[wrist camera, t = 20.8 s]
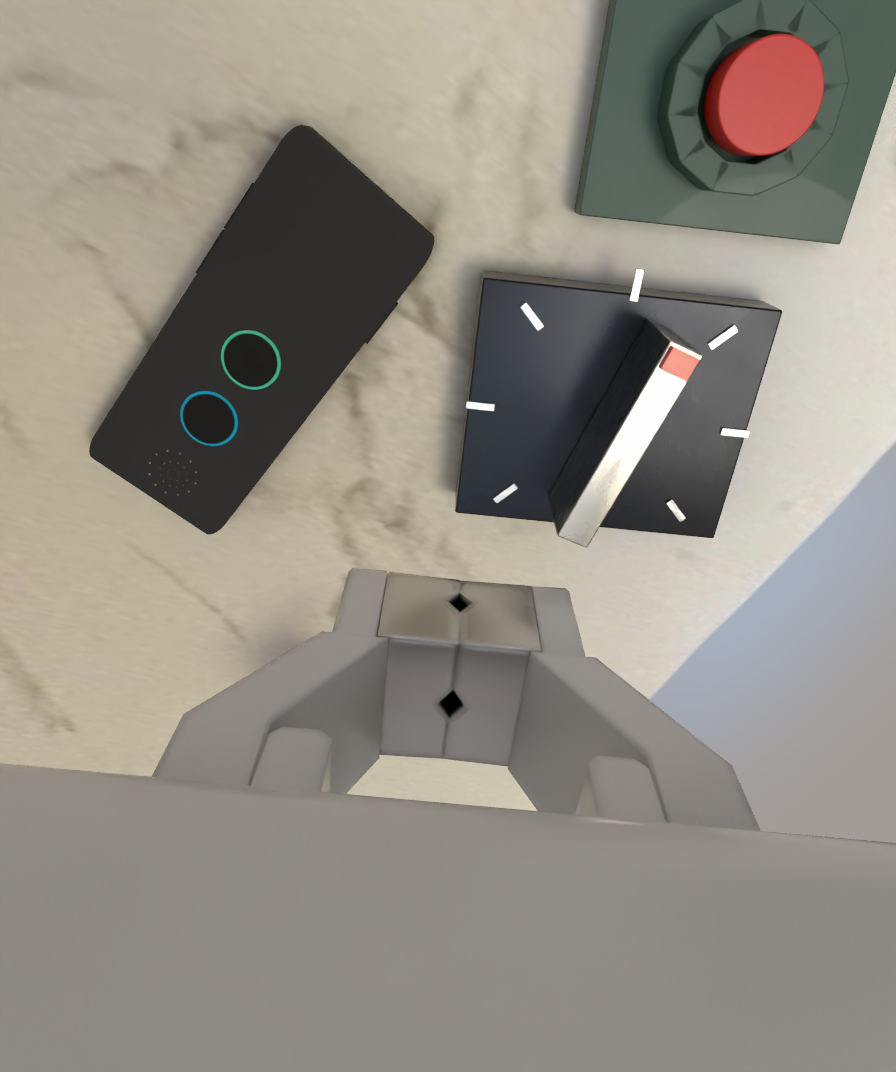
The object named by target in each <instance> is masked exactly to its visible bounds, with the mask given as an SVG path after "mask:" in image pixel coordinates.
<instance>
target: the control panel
mask: <svg viewBox="0 0 896 1072" xmlns="http://www.w3.org/2000/svg"><path fill="white" fill-rule="evenodd" d="M643 273H644V270H643V269H636V270H635V275H634V280H633V284H632V287H629V286H620V285H611V284H602V283H593V282H584V281H575V280H566V279H557V278H548V277H539V276H530V275H520V274H511V273H502V272H493V271H482V274H481V282H480V291H479V299H478V308H477V316H476V325H475V333H474V342H473V351H472V359H471V368H470V376H469V385H468V393H467V401H466V410H465V419H464V427H463V436H462V444H461V453H460V461H459V470H458V479H457V487H456V508H455V511H456V512H457V513H467V514H477V515H487V516H497V517H507V518H517V519H527V520H537V521H547V522H554V520H553V516H552V512H551V508H550V504H549V500H548V495H549V493H550V492H551V490H552V488H553V486H554V484H555V483H556V481H557V479H558V477H559V475H560V474H561V472H562V470H563V468H564V467H565V465H566V463H567V461H568V459H569V458H570V456H571V454H572V452H573V450H574V449H575V447H576V445H577V443H578V441H579V440H580V438H581V436H582V434H583V433H584V431H585V429H586V427H587V425H588V424H589V422H590V420H591V418H592V416H593V415H594V413H595V411H596V409H597V407H598V406H599V404H600V402H601V400H602V399H603V397H604V395H605V393H606V391H607V390H608V388H609V386H610V384H611V382H612V381H613V379H614V377H615V375H616V373H617V372H618V370H619V368H620V366H621V365H622V363H623V361H624V359H625V357H626V356H627V354H628V352H629V350H630V348H631V347H632V345H633V343H634V341H635V339H636V338H637V336H638V334H639V332H640V331H641V329H642V327H643V325H644V323H645V322H646V320H647V319H649V320H651V321H653V322H655V323H657V324H659V325H661V326H663V327H665V328H667V329H669V330H671V331H674V332H675V333H677V334H678V335H679V336H680V337H681V338H683V339H684V340H685V341H686V342H688V343H689V344H690V345H691V346H692V347H694V348H695V349H696V350H697V351H698V352H700V353H701V354H702V355H703V357H702V359H701V361H700V362H699V364H698V366H697V367H696V369H695V371H694V372H693V374H692V375H691V377H690V379H689V380H688V382H687V384H686V385H685V387H684V389H683V390H682V392H681V394H680V395H679V397H678V398H677V400H676V402H675V403H674V405H673V407H672V408H671V410H670V412H669V413H668V415H667V417H666V418H665V420H664V422H663V423H662V425H661V426H660V428H659V430H658V431H657V433H656V435H655V436H654V438H653V440H652V441H651V443H650V445H649V446H648V448H647V449H646V451H645V453H644V454H643V456H642V458H641V459H640V461H639V463H638V464H637V466H636V468H635V469H634V471H633V472H632V474H631V476H630V477H629V479H628V481H627V482H626V484H625V486H624V487H623V489H622V491H621V492H620V494H619V496H618V497H617V499H616V500H615V502H614V504H613V505H612V507H611V509H610V510H609V512H608V514H607V515H606V517H605V519H604V520H603V522H602V523H601V525H600V527H607V528H617V529H627V530H637V531H647V532H657V533H667V534H677V535H687V536H697V537H707V538H713V537H714V535H715V531H716V528H717V525H718V522H719V518H720V515H721V512H722V508H723V505H724V502H725V498H726V495H727V492H728V489H729V485H730V482H731V479H732V475H733V472H734V469H735V466H736V462H737V459H738V456H739V452H740V449H741V446H742V443H743V439H744V437H745V438H748V436H749V433H750V431H749V430H746V429H747V426H748V423H749V420H750V416H751V413H752V410H753V406H754V403H755V400H756V397H757V393H758V390H759V387H760V383H761V380H762V377H763V374H764V370H765V367H766V364H767V360H768V357H769V354H770V350H771V347H772V344H773V341H774V337H775V334H776V331H777V327H778V324H779V321H780V318H781V314H782V310H780V309H778V308H776V307H774V306H771V305H769V304H767V303H765V302H763V301H756V300H747V299H738V298H729V297H720V296H711V295H702V294H693V293H684V292H674V291H665V290H656V289H647V288H640V287H641V283H642V278H643Z"/></svg>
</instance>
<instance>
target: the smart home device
mask: <svg viewBox="0 0 896 1072" xmlns="http://www.w3.org/2000/svg"><path fill="white" fill-rule="evenodd" d="M224 228H225V230H222V232H221V233H220V235H219V237H218V238H217V240H216V241H215V243H214V244H213V246H212V248H211V249H210V251H209V252H208V254H207V256H206V257H205V259H204V260H203V262H202V263H201V265H200V267H199V268H198V270H197V271H196V273H197V274H196V276H195V277H194V279H193V281H192V282H191V284H190V285H189V287H188V289H187V290H186V292H185V293H184V295H183V296H182V298H181V300H180V301H179V303H178V304H177V306H176V307H175V309H174V311H173V312H172V314H171V315H170V317H169V319H168V320H167V322H166V323H165V325H164V326H163V328H162V330H161V331H160V333H159V334H158V336H157V337H156V339H155V341H154V342H153V344H152V345H151V347H150V348H149V350H148V352H147V353H146V355H145V356H144V358H143V360H142V361H141V363H140V364H139V366H138V367H137V369H136V371H135V372H134V374H133V375H132V377H131V378H130V380H129V382H128V383H127V385H126V386H125V388H124V390H123V391H122V393H121V394H120V396H119V397H118V399H117V401H116V402H115V404H114V405H113V407H112V408H111V410H110V412H109V413H108V415H107V416H106V418H105V419H104V421H103V423H102V424H101V426H100V427H99V429H98V431H97V432H96V434H95V435H94V437H93V439H92V441H91V444H90V450H89V451H90V456H91V457H92V458H93V459H95V460H96V461H98V462H99V463H101V464H102V465H104V466H105V467H107V468H108V469H110V470H111V471H113V472H114V473H116V474H117V475H119V476H120V477H122V478H123V479H125V480H126V481H128V482H129V483H131V484H132V485H134V486H135V487H137V488H138V489H140V490H141V491H143V492H144V493H146V494H147V495H149V496H150V497H152V498H153V499H155V500H156V501H158V502H159V503H161V504H162V505H164V506H165V507H167V508H168V509H170V510H171V511H173V512H174V513H176V514H177V515H179V516H180V517H182V518H183V519H185V520H186V521H188V522H189V523H191V524H192V525H194V526H195V527H197V528H198V529H200V530H201V531H203V532H204V533H206V534H213V533H215V532H217V531H219V530H220V529H221V528H222V527H223V526H224V525H225V524H226V522H227V521H228V520H229V518H230V517H231V516H232V515H233V513H234V512H235V511H236V509H237V508H238V507H239V505H240V504H241V503H242V502H243V500H244V499H245V498H246V496H247V495H248V494H249V492H250V491H251V490H252V489H253V487H254V486H255V485H256V483H257V482H258V481H259V480H260V478H261V477H262V476H263V474H264V473H265V472H266V470H267V469H268V468H269V467H270V465H271V464H272V463H273V461H274V460H275V459H276V457H277V456H278V455H279V454H280V452H281V451H282V450H283V448H284V447H285V446H286V444H287V443H288V442H289V441H290V439H291V438H292V437H293V435H294V434H295V433H296V431H297V430H298V429H299V428H300V426H301V425H302V424H303V422H304V421H305V420H306V418H307V417H308V416H309V415H310V413H311V412H312V411H313V409H314V408H315V407H316V405H317V404H318V403H319V402H320V400H321V399H322V398H323V396H324V395H325V394H326V393H327V391H328V390H329V389H330V387H331V386H332V385H333V383H334V382H335V381H336V380H337V378H338V377H339V376H340V374H341V373H342V372H343V370H344V369H345V368H346V367H347V365H348V364H349V363H350V361H351V360H352V359H353V357H354V356H355V355H356V354H357V352H358V351H359V350H360V348H361V347H362V346H363V344H364V343H365V342H366V343H368V342H369V341H370V340H371V338H372V337H373V336H374V334H375V333H376V332H377V331H378V329H379V328H380V327H381V325H382V324H383V323H384V321H385V320H386V319H387V318H388V316H389V315H390V314H391V312H392V311H393V310H394V309H395V307H396V306H397V304H398V303H397V300H398V299H399V298H400V296H401V295H402V294H403V293H404V291H405V290H406V289H407V287H408V286H409V285H410V283H411V282H412V281H413V280H414V278H415V277H416V276H417V274H418V273H419V272H420V270H421V269H422V268H423V266H424V265H425V264H426V262H427V260H428V258H429V257H430V254H431V252H432V249H433V245H434V236H433V235H432V234H431V233H430V232H429V231H428V230H427V229H425V228H424V227H423V226H422V225H421V224H420V223H419V222H418V221H416V220H415V219H414V218H413V217H412V216H411V215H410V214H409V213H407V212H406V211H405V210H404V209H403V208H402V207H401V206H399V205H398V204H397V203H396V202H395V201H394V200H393V199H392V198H390V197H389V196H388V195H387V194H386V193H385V192H384V191H383V190H381V189H380V188H379V187H378V186H377V185H376V184H375V183H374V182H372V181H371V180H370V179H369V178H368V177H367V176H366V175H365V174H363V173H362V172H361V171H360V170H359V169H358V168H357V167H356V166H354V165H353V164H352V163H351V162H350V161H349V160H348V159H347V158H345V157H344V156H343V155H342V154H341V153H340V152H339V151H338V150H336V149H335V148H334V147H333V146H332V145H331V144H330V143H328V142H327V141H326V140H325V139H324V138H323V137H322V136H321V135H319V134H318V133H317V132H316V131H315V130H314V129H313V128H311V127H309V126H303V125H300V126H297V127H294V128H293V129H292V130H291V131H289V132H288V133H287V134H286V135H285V137H284V138H283V139H282V141H281V142H280V143H279V145H278V147H277V148H276V150H275V151H274V153H273V154H272V156H271V158H270V159H269V161H268V162H267V164H266V165H265V167H264V169H263V170H262V172H261V173H260V175H259V177H258V178H257V180H256V181H255V183H252V184H251V186H250V187H249V189H248V191H247V192H246V194H245V195H244V197H243V198H242V200H241V202H240V203H239V205H238V206H237V208H236V210H235V211H234V213H233V214H232V216H231V217H230V219H229V221H228V222H227V224H226V225H225V227H224Z"/></svg>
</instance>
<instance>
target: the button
mask: <svg viewBox="0 0 896 1072" xmlns="http://www.w3.org/2000/svg"><path fill="white" fill-rule="evenodd" d="M823 94H824V72H823V68H822V64H821V61H820V59H819V57H818V55H817V53H816V52H815V50H814V49H813V48H812V47H811V46H810V45H809V44H808V43H807V42H806V41H804V40H802V39H801V38H799V37H796V36H794V35H789V34H773V35H769V36H765V37H763V38H760V39H758V40H755V41H753V42H750V43H748V44H745V45H743V46H741V47H739V48H738V49H736V50H735V51H733V52H732V53H731V54H729V55H728V56H727V57H726V58H725V59H724V60H723V61H722V63H721V64H720V65H719V66H718V68H717V69H716V71H715V72H714V74H713V76H712V78H711V80H710V83H709V85H708V88H707V92H706V96H705V103H704V114H705V121H706V125H707V128H708V131H709V133H710V135H711V136H712V138H713V139H714V141H715V142H716V143H717V144H718V145H719V146H720V147H721V148H723V149H724V150H726V151H728V152H730V153H733V154H736V155H744V156H762V155H770V154H774V153H777V152H780V151H782V150H784V149H786V148H788V147H789V146H791V145H792V144H794V143H795V142H796V141H797V140H798V139H800V138H801V137H802V136H803V134H804V133H805V132H806V131H807V130H808V128H809V127H810V126H811V124H812V123H813V121H814V119H815V118H816V115H817V113H818V111H819V109H820V106H821V103H822V99H823Z"/></svg>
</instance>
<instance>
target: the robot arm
mask: <svg viewBox="0 0 896 1072" xmlns="http://www.w3.org/2000/svg"><path fill="white" fill-rule="evenodd" d="M379 755H394V756H410V757H425V758H441V759H450V760H459V761H467V762H476V763H484V764H493V765H501V766H509V767H508V770H509V771H510V773H511V774H512V775H513V777H514V778H515V780H516V781H517V782H518V784H519V785H520V787H521V788H522V789H523V791H524V792H525V794H526V795H527V796H528V798H529V799H530V800H531V802H532V803H533V805H534V806H535V807H536V809H537V810H538V811H528V810H517V809H506V808H495V807H484V806H472V805H461V804H450V803H439V802H428V801H416V800H405V799H394V798H383V797H372V796H360V795H349V794H346V793H347V792H348V791H349V790H350V789H351V788H352V787H353V785H354V784H355V783H356V782H357V781H358V780H359V779H360V778H361V777H362V776H363V775H364V774H365V772H366V771H367V770H368V769H369V768H370V767H371V766H372V765H373V764H374V763H375V762H376V761H377V760H378V758H379ZM0 1072H896V843H888V842H877V841H866V840H854V839H843V838H831V837H821V836H808V835H798V834H786V833H776V832H764V831H760V828H759V826H758V824H757V821H756V819H755V817H754V815H753V812H752V810H751V808H750V806H749V803H748V801H747V799H746V796H745V794H744V792H743V790H742V787H741V785H740V783H739V780H738V778H737V776H736V774H735V771H734V769H733V768H732V765H730V764H729V763H728V762H727V761H725V760H724V759H723V758H722V757H720V756H719V755H718V754H717V753H715V752H714V751H713V750H712V749H710V748H709V747H708V746H706V745H705V744H704V743H703V742H701V741H700V740H699V739H698V738H696V737H695V736H694V735H692V734H691V733H690V732H689V731H688V730H686V729H685V728H684V727H682V726H681V725H680V724H679V723H677V722H676V721H675V720H674V719H672V718H671V717H670V716H669V715H667V714H666V713H665V712H664V711H662V710H661V709H660V708H659V707H657V706H656V705H655V704H653V703H652V702H651V701H650V700H648V699H647V698H646V697H645V696H643V695H642V694H641V693H640V692H638V691H637V690H636V689H635V688H633V687H632V686H631V685H629V684H628V683H627V682H626V681H624V680H623V679H622V678H621V677H619V676H618V675H617V674H616V673H614V672H613V671H612V670H611V669H609V668H608V667H607V666H605V665H604V664H603V663H602V662H600V661H599V660H598V659H597V658H593V657H585V653H584V649H583V645H582V641H581V637H580V633H579V630H578V626H577V622H576V618H575V614H574V610H573V606H572V602H571V598H570V594H569V591H568V590H567V589H565V588H552V587H535V586H525V585H511V584H498V583H485V582H471V581H460V580H455V579H447V578H438V577H430V576H421V575H413V574H404V573H396V572H389V573H387V571H383V570H370V569H358V568H352V569H351V570H350V571H349V573H348V577H347V581H346V584H345V588H344V591H343V595H342V599H341V602H340V606H339V609H338V613H337V617H336V620H335V624H334V627H333V631H332V632H320V633H318V634H317V635H315V636H313V637H312V638H310V639H308V640H307V641H305V642H303V643H302V644H300V645H298V646H297V647H295V648H293V649H292V650H290V651H288V652H287V653H285V654H283V655H282V656H280V657H278V658H277V659H275V660H273V661H272V662H270V663H268V664H267V665H265V666H263V667H262V668H260V669H258V670H257V671H255V672H253V673H252V674H250V675H248V676H247V677H245V678H243V679H242V680H240V681H238V682H237V683H235V684H233V685H232V686H230V687H228V688H227V689H225V690H223V691H222V692H220V693H218V694H217V695H215V696H213V697H212V698H210V699H208V700H206V701H205V702H203V703H201V704H200V705H198V706H196V707H195V708H193V709H191V710H190V711H188V712H186V713H185V714H183V716H182V718H181V720H180V722H179V724H178V726H177V728H176V730H175V732H174V734H173V736H172V738H171V740H170V742H169V744H168V746H167V748H166V750H165V752H164V754H163V756H162V758H161V760H160V761H159V763H158V765H157V767H156V769H155V771H154V773H153V775H152V777H148V776H136V775H125V774H114V773H103V772H92V771H80V770H69V769H58V768H47V767H36V766H24V765H13V764H2V763H0Z"/></svg>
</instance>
